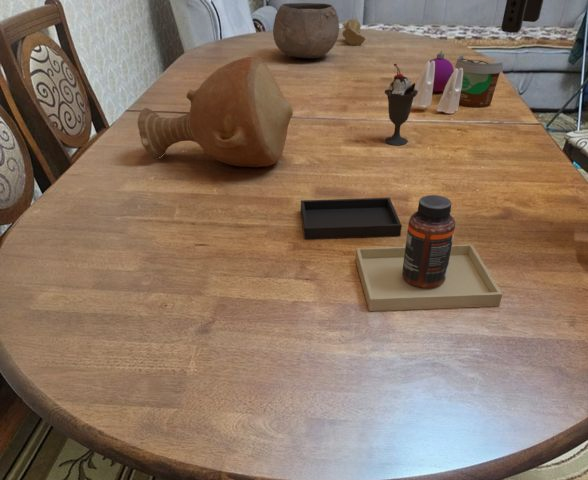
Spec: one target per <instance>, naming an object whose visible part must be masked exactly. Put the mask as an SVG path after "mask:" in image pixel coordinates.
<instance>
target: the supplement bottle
mask: <svg viewBox="0 0 588 480" xmlns="http://www.w3.org/2000/svg"><path fill="white" fill-rule="evenodd" d="M451 209H452V201H451V200H450V199H449V198H448V197H446V196H442V195H438V194H429V195H424V196H422V197H421V198H419V201H418V206H417V211H415V212H414V213H412V214H411V216H410V217H409V219H408V223H407V231H406V238H405V239H406V240H405V245H404V246H405V254H404V263H403V272H402V275H403V278H404V280H405V281H406V282H408V283H409V284H411V285H413V286H416V287H421V288H432V287H436V286H439V285H441V284H442V283H443V282H444V281H445V278H446V274H447V269H448V264H449V258H450V253H451V247H452V245H453V242H454V236H455V232H456V231H455V230H456V220H455V218H454V217H453V215H452V214H451V211H452V210H451Z"/></svg>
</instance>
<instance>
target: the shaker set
mask: <svg viewBox="0 0 588 480" xmlns="http://www.w3.org/2000/svg"><path fill="white" fill-rule="evenodd" d="M429 61H430V60H429ZM429 61H427V62H426V63H425V65H424V66H423V68H422V70H421V72H420V73H419V76H418V78H417V81H416V83H415V88H414V90H417V91H418V93H417V95H416V96H415V97H414V98H413V102H412V106H411V109H414V110H418V111H423V110H426V109H427V108H428V107H429V106H431V105H432V100H433V93H434V92H433V82H434V73H435V62H434V61H431V63H430V62H429ZM462 80H463V69H462V68H460V69H459V70H458V69H457V68H455V69H454V72H453V73H452V75H451V77H450V78H449V80H448V82H447V84H446V86H445V89H444V90H443V91H442V92H443V93H442V95H441V97H440V100H439V101H438V103H437V106H436V107H435V111H436V112H441V113H442V112H443V113H445V114H455V112H458V111H459V106H460V105H459V100H460V93H461V88H462Z"/></svg>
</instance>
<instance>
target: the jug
mask: <svg viewBox="0 0 588 480" xmlns="http://www.w3.org/2000/svg"><path fill="white" fill-rule="evenodd" d="M186 98H187V100H189V101H190V109H189V112H188V113H187V114H184V115H182V116H178V117H163V116H162V117H161V116H159V114H158V113H156V112H155V111H154V110H152V109H150V108H148V107H144V108H142V110H141V111H140V113H139V114H138V117H137V128H138V134H139V137H140V141H141V145H142V147H143V148H144V149H145V151H146V153H147V154H148V155H149V156H150V157H151V158H152V159H154V160H158V159H157V158H159V157H161V156H162V155H163V154H164V153H165V154H166V152H167V150H168V148H170V147H171V146H172V145H174V144H178V143H180V142H194V143H197V144H198V145H199V147H200V148H201V149H202V150H203V151H204V152H205V153H206V154H208V155H209V156H210V157H212V158H214V159H215V160H217V161H219V162H221V163H224V164H227V165H229V166H235V167H242V168H244V167H245V168H259V167H268V166H272V165H275V164H276V163H278V162H279V161H280V160H281V158H282V156H283V152H284V148H285V145H286V139H287V136H288V129H289V124H290V121H291V119H292V116H293V114H294V109H293V106H292V104H291V103H290V102H289V101H288V99H286V96H285V95H284V94H283V92H282V90H281V88H280V86H279V84H278V81H277V80H276V77H275V76H274V74H273V72H272V71H271V70H270V68H269V67H268V65H267V64H266V63H265V62H264V61H263V60H261V59H260V58H258V57H256V56H247V57H242V58H239V59H235V60H233V61H231V62H229V63H227V64H225V65H223V66H221V67H219V68H217V69H216V70H215V71H213V72H212V73H211V74H210V75H209V76H208V77H207V78H206V79H205V80H204V81H202V83H201V84H200V86H199V87H198V88H197V89H196V90H193V89H189V90H188V91H187V93H186Z"/></svg>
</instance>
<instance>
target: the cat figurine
mask: <svg viewBox="0 0 588 480" xmlns="http://www.w3.org/2000/svg"><path fill="white" fill-rule="evenodd" d="M342 24H343V25H342V26H343V28H344V29H343V31H342V37H343V38H344V40H345V42H346V44H347V45H352V46H356V45H358V46H361V45H362V44H363V43H364V42H365V41H366V37H365V36H363V35H362V34H361V31H362V30H361V23H360V21H359V20H358V19H356V18H351V19H349V20H347V21H346V20H345V21H343V22H342Z"/></svg>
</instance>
